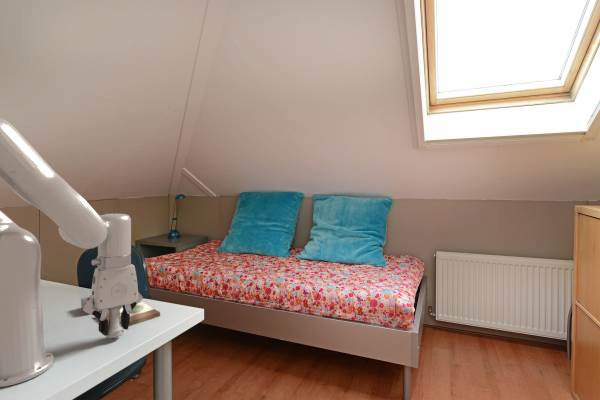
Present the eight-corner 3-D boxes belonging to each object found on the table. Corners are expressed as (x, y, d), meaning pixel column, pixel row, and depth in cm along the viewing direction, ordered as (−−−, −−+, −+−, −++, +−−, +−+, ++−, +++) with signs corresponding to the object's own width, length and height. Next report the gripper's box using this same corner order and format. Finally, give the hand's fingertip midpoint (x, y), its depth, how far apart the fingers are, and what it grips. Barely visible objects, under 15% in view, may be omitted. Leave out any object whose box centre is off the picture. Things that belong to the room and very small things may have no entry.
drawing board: (114, 330, 94) (114, 325, 94) (96, 316, 103) (96, 312, 103) (160, 315, 104) (160, 311, 104) (140, 304, 113) (139, 300, 113)
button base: (88, 314, 105) (88, 304, 105) (81, 309, 110) (80, 298, 109) (113, 308, 110) (112, 297, 110) (105, 302, 115) (104, 293, 115)
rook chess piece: (115, 339, 87) (115, 308, 86) (100, 337, 88) (100, 306, 87) (127, 332, 91) (128, 302, 91) (113, 330, 92) (113, 300, 92)
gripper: (82, 269, 80) (82, 346, 81) (153, 259, 93) (152, 325, 93) (72, 264, 85) (72, 336, 86) (141, 255, 98) (140, 318, 98)
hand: (114, 330), depth 89 cm, fingers closed on rook chess piece, 4 cm apart
